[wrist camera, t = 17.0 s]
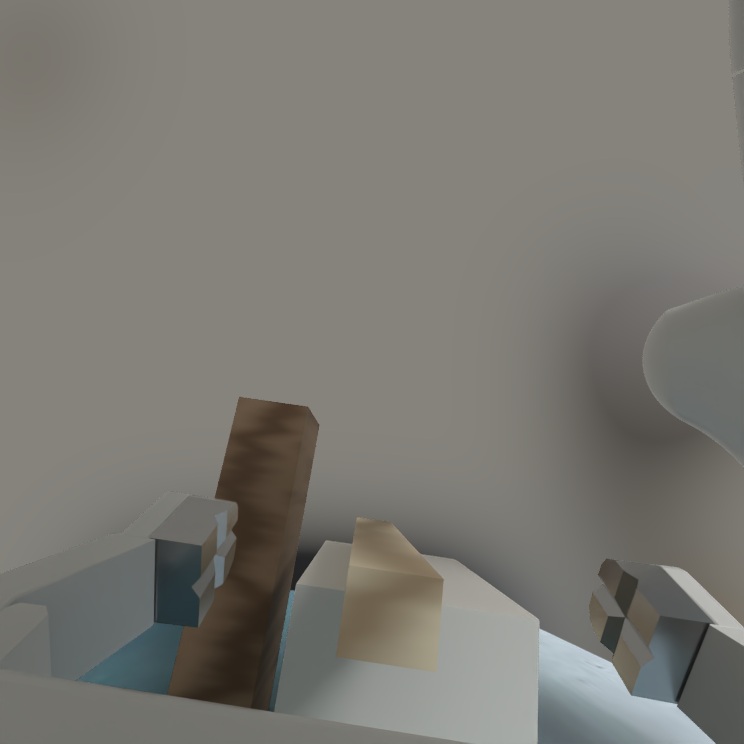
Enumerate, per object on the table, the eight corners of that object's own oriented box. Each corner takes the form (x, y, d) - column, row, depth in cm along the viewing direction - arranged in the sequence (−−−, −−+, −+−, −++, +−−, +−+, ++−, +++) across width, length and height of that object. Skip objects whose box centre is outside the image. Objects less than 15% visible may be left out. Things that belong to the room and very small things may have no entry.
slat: (386, 552, 35) (390, 522, 35) (436, 672, 12) (443, 578, 12) (352, 547, 35) (356, 517, 36) (335, 656, 12) (348, 564, 13)
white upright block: (440, 759, 32) (455, 559, 37) (532, 1065, 15) (539, 619, 19) (294, 736, 33) (326, 540, 37) (220, 1014, 15) (296, 583, 20)
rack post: (269, 706, 36) (319, 425, 44) (236, 782, 27) (307, 406, 34) (204, 696, 36) (265, 417, 44) (149, 769, 27) (239, 396, 34)
